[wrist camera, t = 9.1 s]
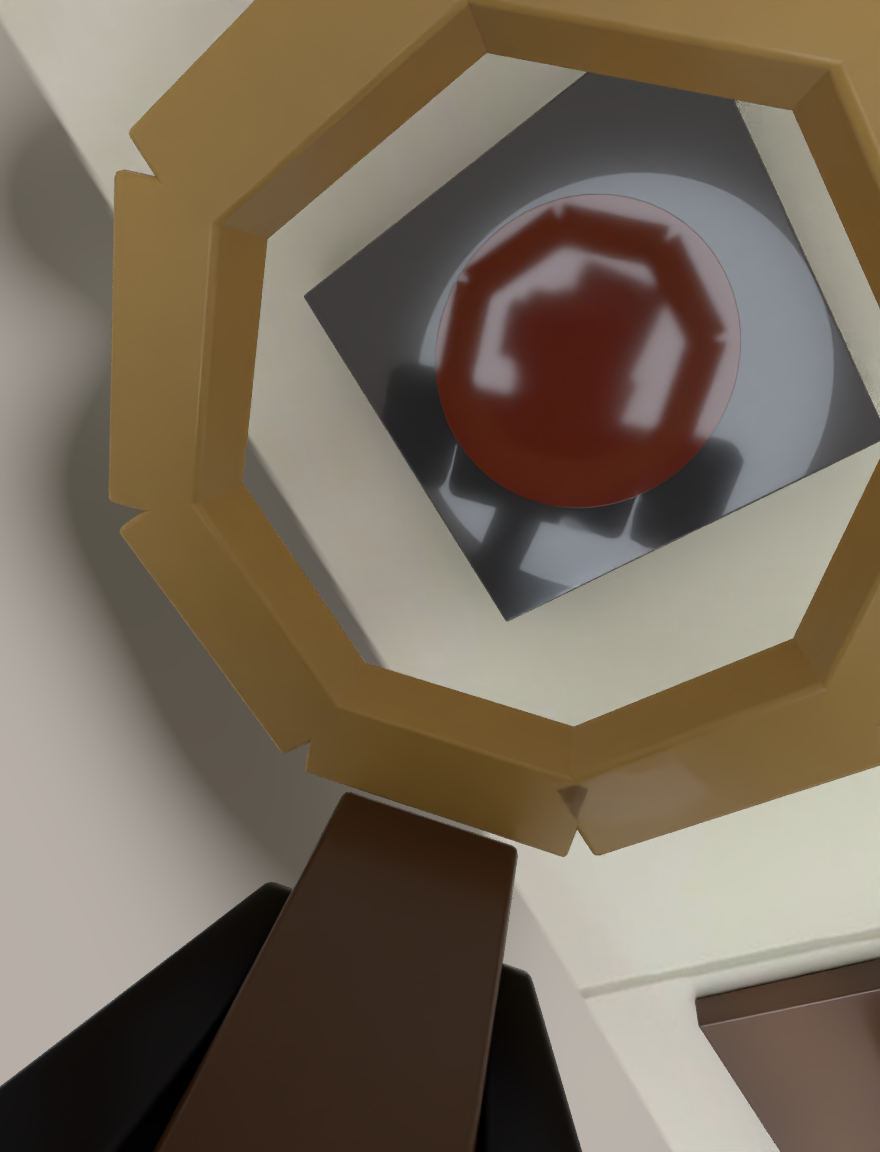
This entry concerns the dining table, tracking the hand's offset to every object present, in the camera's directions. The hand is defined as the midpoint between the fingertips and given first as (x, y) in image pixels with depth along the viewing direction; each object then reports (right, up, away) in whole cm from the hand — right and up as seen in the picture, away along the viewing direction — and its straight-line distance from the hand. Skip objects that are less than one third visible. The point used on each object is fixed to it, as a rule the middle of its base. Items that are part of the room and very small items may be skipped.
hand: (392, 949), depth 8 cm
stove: (+4, +10, +9) cm, 14 cm away
